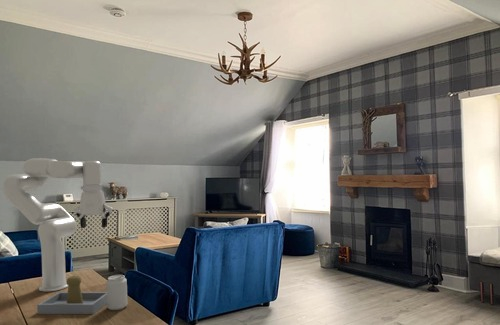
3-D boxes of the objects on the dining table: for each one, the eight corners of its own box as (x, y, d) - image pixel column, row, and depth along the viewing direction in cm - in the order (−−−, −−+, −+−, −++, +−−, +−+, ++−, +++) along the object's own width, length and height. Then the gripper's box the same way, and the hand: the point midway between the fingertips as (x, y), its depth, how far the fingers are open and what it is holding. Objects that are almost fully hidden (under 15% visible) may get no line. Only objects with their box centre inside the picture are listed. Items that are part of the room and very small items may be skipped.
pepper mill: (66, 308, 146) (65, 279, 146) (65, 303, 151) (65, 275, 151) (83, 305, 149) (82, 277, 149) (82, 300, 154) (81, 273, 154)
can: (121, 311, 143) (120, 279, 143) (103, 310, 145) (102, 279, 145) (131, 304, 151) (130, 274, 151) (114, 303, 152) (112, 273, 152)
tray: (37, 313, 144) (37, 304, 144) (59, 300, 158) (59, 292, 158) (93, 313, 142) (92, 304, 142) (110, 300, 156) (110, 291, 156)
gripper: (69, 190, 166) (70, 229, 166) (107, 188, 164) (108, 228, 164) (78, 188, 173) (79, 226, 173) (115, 187, 172) (116, 225, 172)
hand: (93, 227), depth 169 cm, fingers open, 9 cm apart
